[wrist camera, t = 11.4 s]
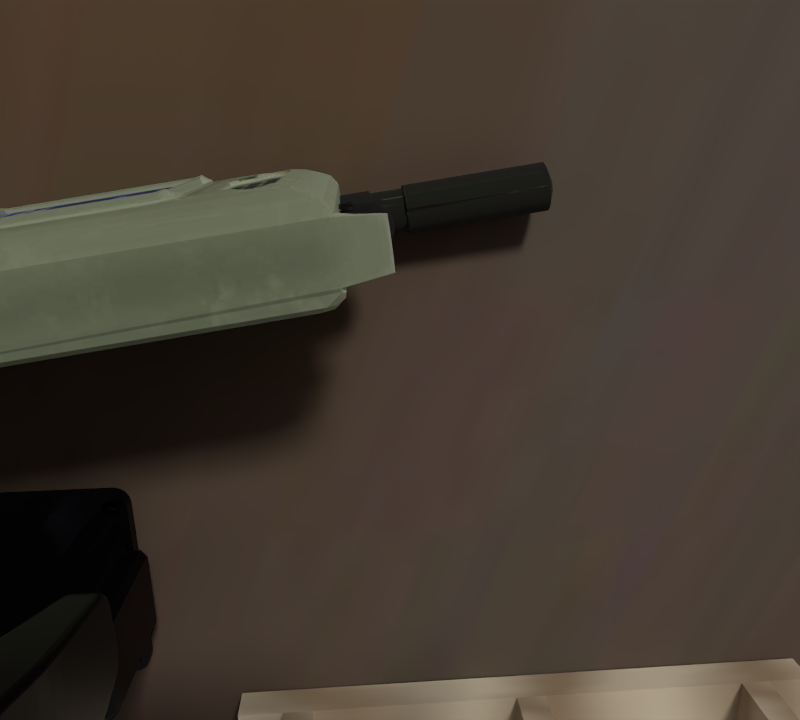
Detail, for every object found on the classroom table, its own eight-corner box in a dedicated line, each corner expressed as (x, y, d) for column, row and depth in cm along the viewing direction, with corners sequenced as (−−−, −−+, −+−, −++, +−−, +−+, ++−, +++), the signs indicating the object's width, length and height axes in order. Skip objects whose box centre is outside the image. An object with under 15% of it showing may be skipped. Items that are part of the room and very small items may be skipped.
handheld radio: (-367, 266, 19) (531, 118, 19) (-306, 376, 20) (541, 234, 20) (-731, 341, 12) (622, 116, 13) (-611, 497, 13) (629, 287, 14)
